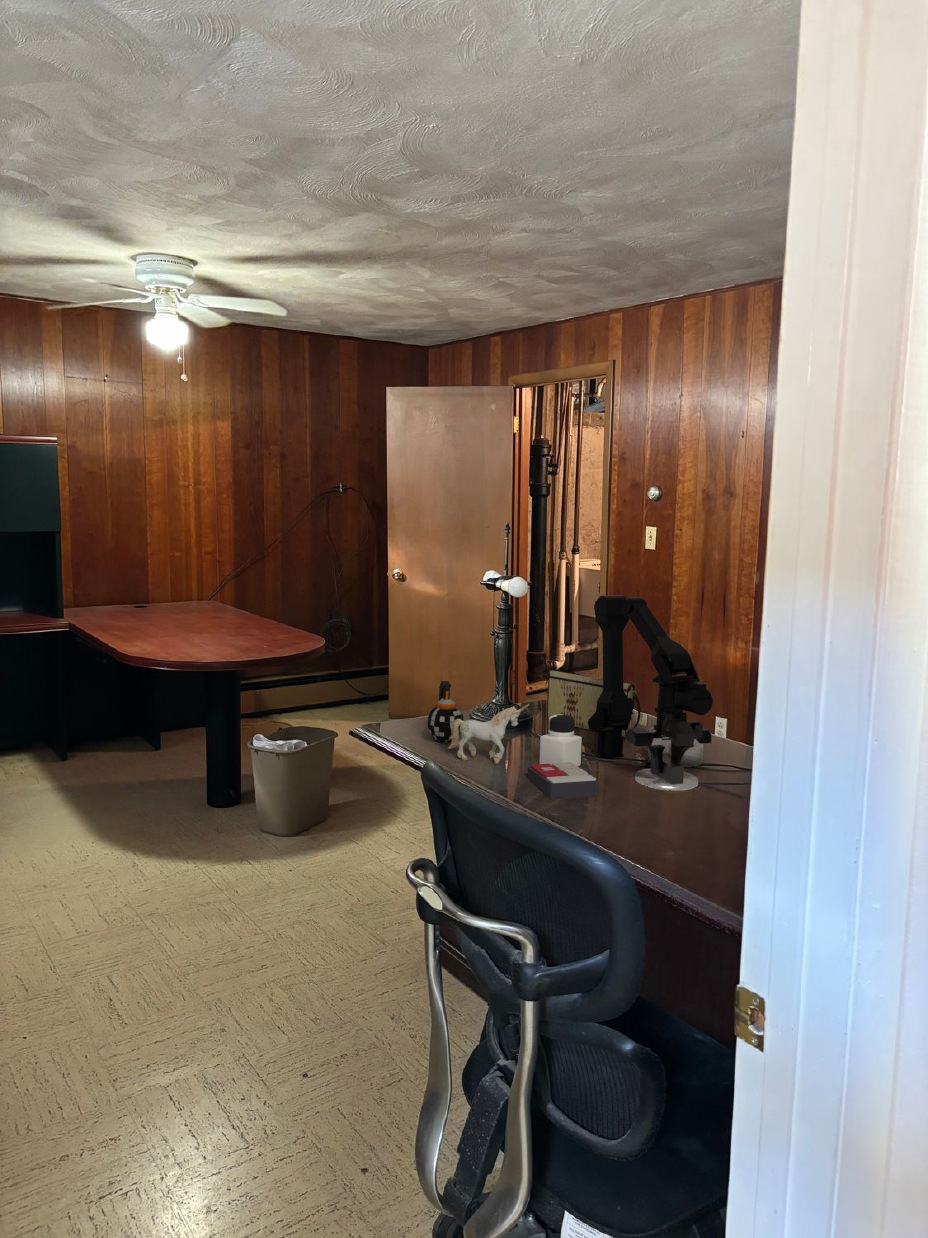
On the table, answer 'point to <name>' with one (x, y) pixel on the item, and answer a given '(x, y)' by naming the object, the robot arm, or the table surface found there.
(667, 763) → the lid
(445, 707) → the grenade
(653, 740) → the robot arm
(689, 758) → the grey cylinder drum
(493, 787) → the table surface
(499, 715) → the unicorn figurine
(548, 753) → the medicine bottle
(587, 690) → the clutch purse
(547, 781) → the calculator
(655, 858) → the table surface
